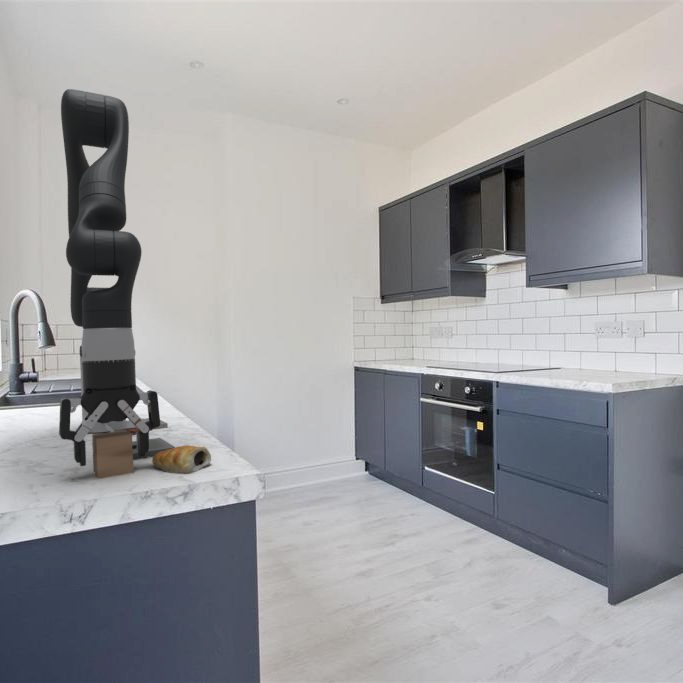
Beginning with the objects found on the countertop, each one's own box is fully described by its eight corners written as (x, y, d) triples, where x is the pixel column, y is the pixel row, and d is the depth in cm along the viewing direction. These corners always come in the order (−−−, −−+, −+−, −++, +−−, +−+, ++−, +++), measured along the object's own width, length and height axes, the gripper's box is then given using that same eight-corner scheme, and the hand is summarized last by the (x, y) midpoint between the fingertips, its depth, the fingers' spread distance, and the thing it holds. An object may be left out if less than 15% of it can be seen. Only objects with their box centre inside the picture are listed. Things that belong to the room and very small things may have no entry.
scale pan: (105, 433, 92) (105, 423, 92) (155, 426, 97) (155, 417, 97) (116, 442, 83) (115, 431, 83) (170, 435, 88) (170, 424, 88)
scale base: (99, 451, 92) (98, 419, 92) (160, 442, 98) (159, 412, 98) (109, 463, 83) (108, 427, 83) (175, 452, 89) (174, 419, 89)
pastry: (141, 471, 78) (140, 447, 78) (171, 461, 84) (170, 439, 84) (189, 476, 75) (188, 451, 75) (216, 465, 81) (215, 442, 81)
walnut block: (93, 472, 78) (92, 434, 78) (127, 466, 81) (125, 430, 81) (98, 479, 74) (96, 439, 74) (133, 472, 77) (131, 434, 77)
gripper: (150, 355, 84) (154, 449, 84) (54, 359, 76) (58, 463, 76) (161, 355, 78) (165, 457, 78) (59, 360, 70) (63, 473, 70)
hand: (112, 460), depth 77 cm, fingers open, 8 cm apart
